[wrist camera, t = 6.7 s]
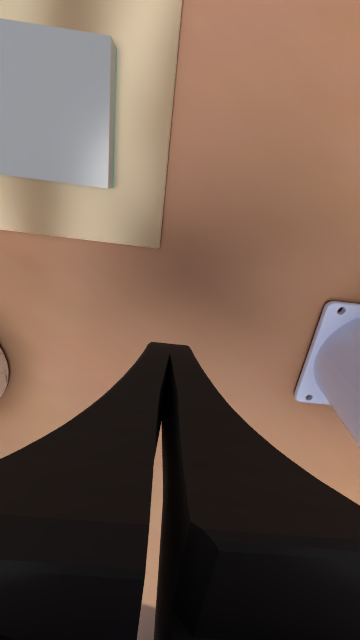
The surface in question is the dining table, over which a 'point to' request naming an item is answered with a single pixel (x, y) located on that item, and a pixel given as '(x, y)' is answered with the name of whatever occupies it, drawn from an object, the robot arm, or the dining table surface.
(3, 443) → the dining table surface
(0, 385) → the teacup with lid
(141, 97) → the beige square board
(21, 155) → the tile
